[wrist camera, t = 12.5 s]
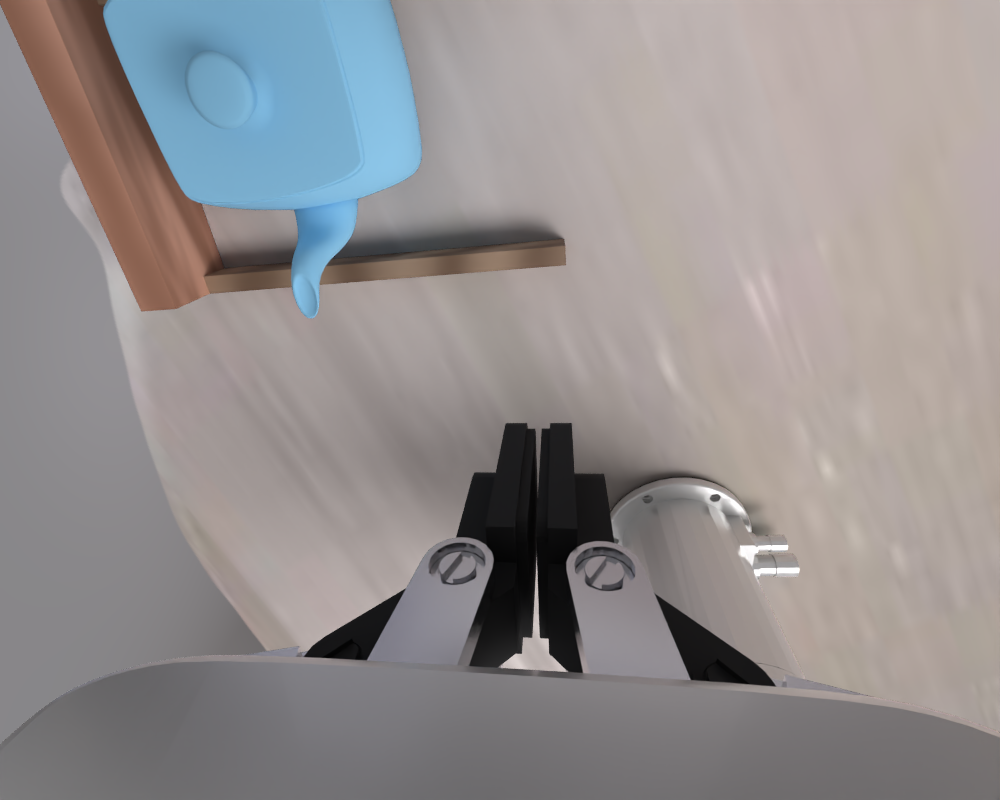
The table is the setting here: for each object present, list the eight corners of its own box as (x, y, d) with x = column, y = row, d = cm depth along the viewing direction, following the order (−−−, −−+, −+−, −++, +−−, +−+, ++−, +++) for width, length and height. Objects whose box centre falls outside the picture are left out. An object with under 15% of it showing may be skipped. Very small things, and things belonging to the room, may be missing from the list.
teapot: (295, 276, 36) (200, 338, 26) (174, -41, 27) (-39, -127, 17) (456, 251, 34) (420, 309, 24) (384, -97, 25) (281, -231, 15)
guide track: (552, -83, 25) (554, -142, 20) (564, 256, 33) (567, 278, 28) (85, -5, 28) (-19, -37, 23) (199, 286, 37) (141, 311, 31)
